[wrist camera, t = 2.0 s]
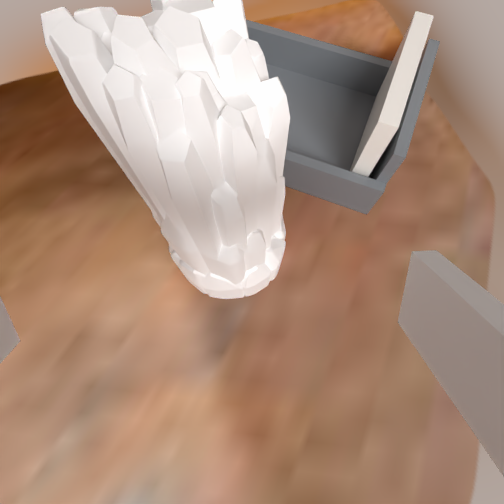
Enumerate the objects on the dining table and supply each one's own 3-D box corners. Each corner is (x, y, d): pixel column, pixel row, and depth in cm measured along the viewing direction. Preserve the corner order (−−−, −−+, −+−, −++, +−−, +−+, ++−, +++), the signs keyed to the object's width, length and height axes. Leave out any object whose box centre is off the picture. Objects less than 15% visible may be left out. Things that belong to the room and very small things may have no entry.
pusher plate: (343, 187, 35) (378, 121, 25) (375, 97, 38) (415, 11, 29) (363, 194, 34) (406, 130, 25) (393, 103, 38) (440, 17, 29)
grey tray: (166, 144, 38) (141, 82, 29) (221, 49, 42) (214, -28, 34) (366, 214, 35) (402, 167, 26) (402, 103, 39) (442, 34, 31)
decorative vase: (266, 190, 35) (284, -149, 12) (296, 283, 32) (406, 70, 8) (168, 215, 35) (-22, -94, 11) (189, 312, 31) (-19, 170, 8)
